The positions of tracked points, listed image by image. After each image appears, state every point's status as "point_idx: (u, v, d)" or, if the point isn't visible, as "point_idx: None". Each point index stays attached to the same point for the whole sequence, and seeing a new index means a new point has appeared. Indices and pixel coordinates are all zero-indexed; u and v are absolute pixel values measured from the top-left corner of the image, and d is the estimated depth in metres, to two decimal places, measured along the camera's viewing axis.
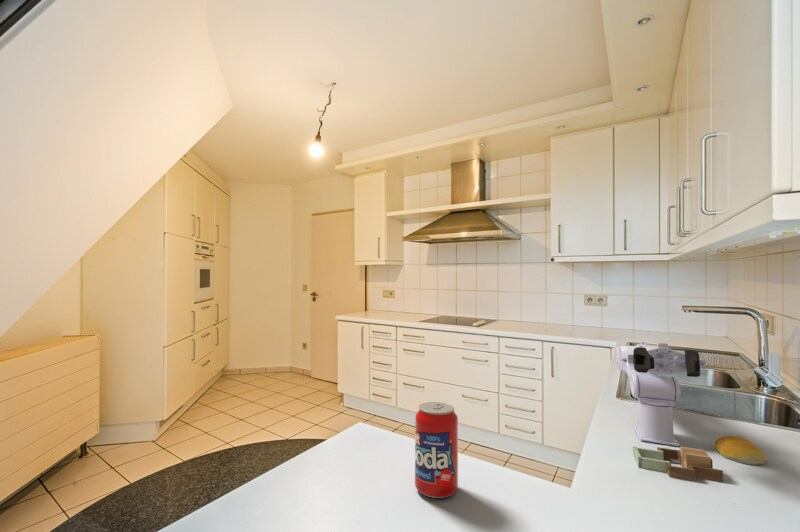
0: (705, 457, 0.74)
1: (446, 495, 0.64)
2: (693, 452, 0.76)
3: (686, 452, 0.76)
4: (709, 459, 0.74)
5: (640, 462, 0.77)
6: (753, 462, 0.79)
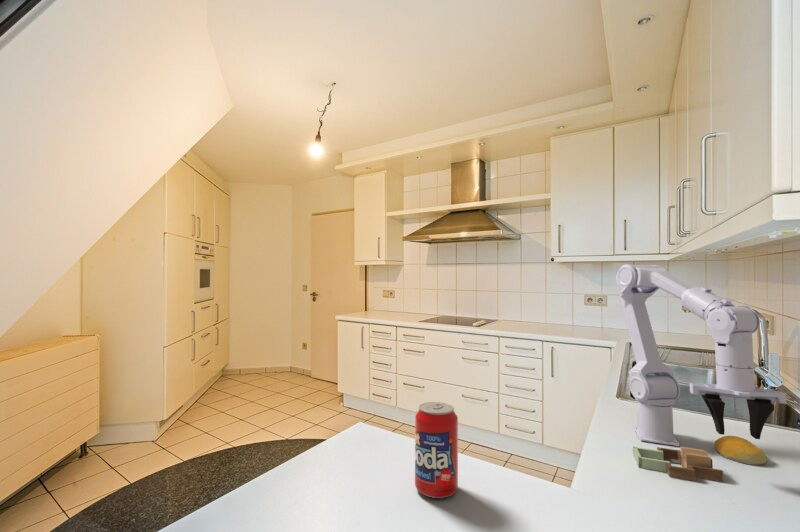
0: (705, 457, 0.74)
1: (446, 495, 0.64)
2: (694, 452, 0.76)
3: (686, 452, 0.76)
4: (709, 459, 0.74)
5: (640, 462, 0.77)
6: (753, 462, 0.79)
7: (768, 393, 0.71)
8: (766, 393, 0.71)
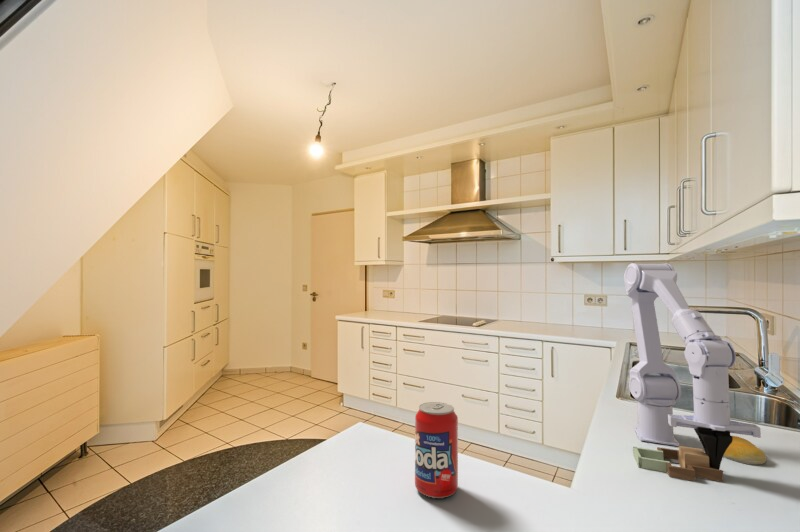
0: (703, 456, 0.74)
1: (446, 495, 0.64)
2: (692, 451, 0.76)
3: (684, 451, 0.76)
4: (707, 458, 0.74)
5: (640, 462, 0.77)
6: (753, 462, 0.79)
7: (743, 427, 0.72)
8: (741, 427, 0.72)
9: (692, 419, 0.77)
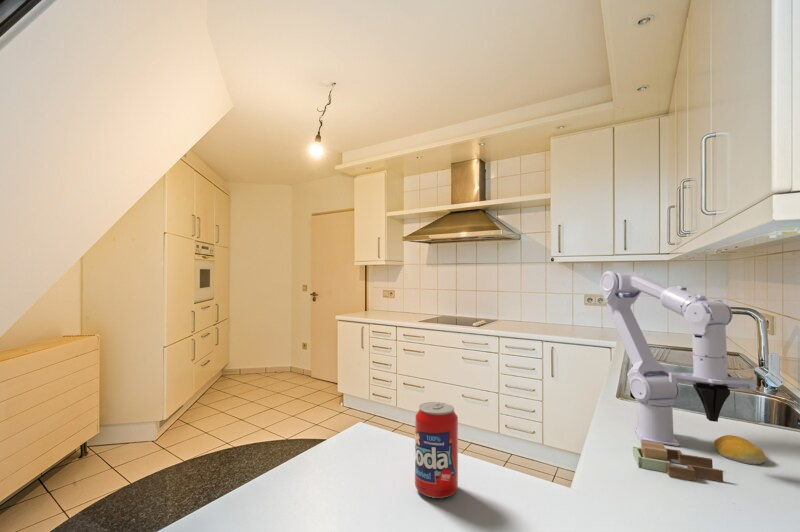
0: (662, 451, 0.77)
1: (446, 495, 0.64)
2: (652, 446, 0.79)
3: (645, 446, 0.79)
4: (666, 452, 0.77)
5: (640, 462, 0.77)
6: (752, 461, 0.79)
7: (740, 381, 0.77)
8: (738, 381, 0.77)
9: (692, 375, 0.81)
